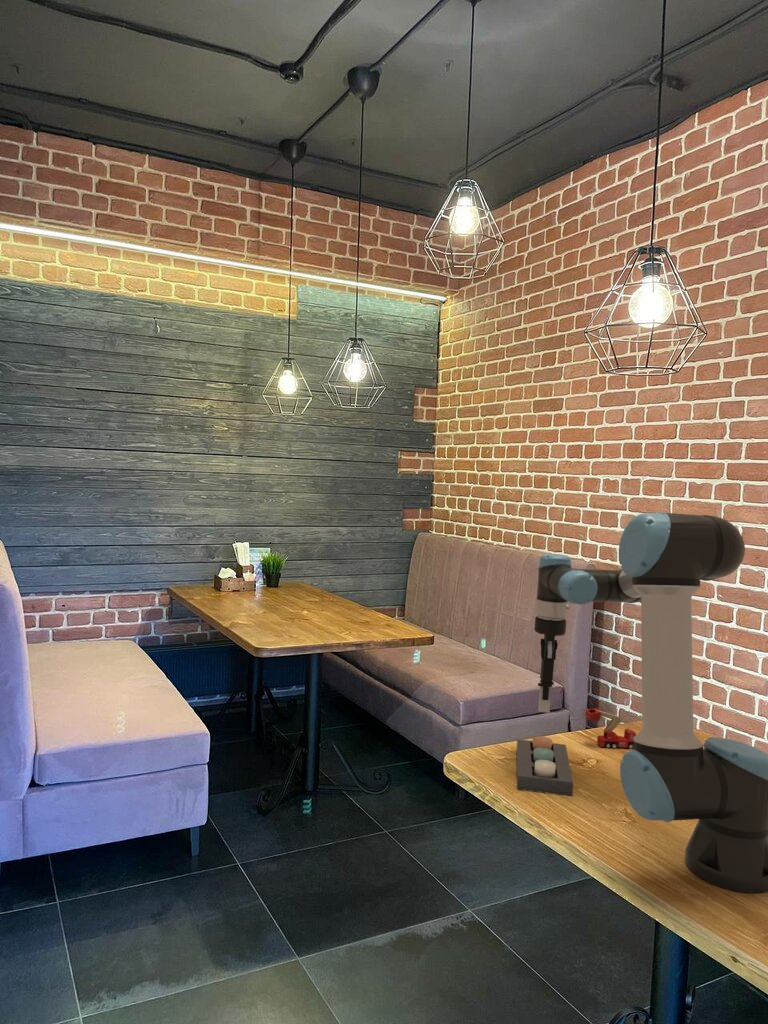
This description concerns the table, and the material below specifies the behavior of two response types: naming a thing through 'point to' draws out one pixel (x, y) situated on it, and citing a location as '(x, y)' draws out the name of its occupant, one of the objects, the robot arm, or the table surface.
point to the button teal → (543, 754)
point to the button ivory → (544, 768)
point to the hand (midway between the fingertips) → (543, 711)
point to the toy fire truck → (611, 731)
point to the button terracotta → (541, 742)
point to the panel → (544, 784)
